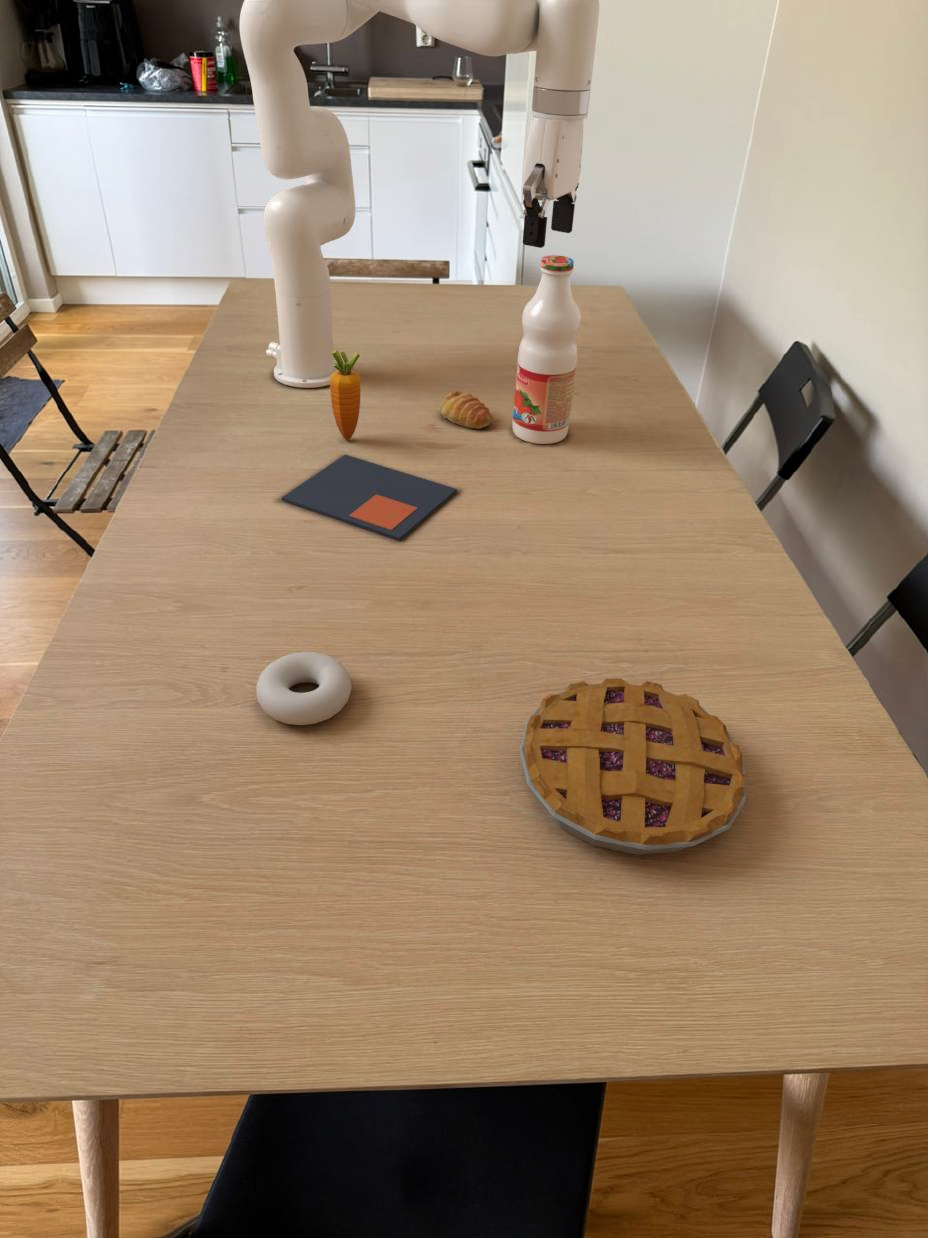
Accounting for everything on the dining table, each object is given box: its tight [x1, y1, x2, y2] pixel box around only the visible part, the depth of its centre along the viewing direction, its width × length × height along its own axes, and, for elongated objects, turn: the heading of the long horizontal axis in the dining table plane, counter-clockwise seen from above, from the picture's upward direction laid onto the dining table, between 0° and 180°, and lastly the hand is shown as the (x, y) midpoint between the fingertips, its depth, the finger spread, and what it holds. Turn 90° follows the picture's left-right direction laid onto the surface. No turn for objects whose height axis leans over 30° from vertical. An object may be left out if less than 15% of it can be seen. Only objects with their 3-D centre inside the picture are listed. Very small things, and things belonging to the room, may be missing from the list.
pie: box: [519, 678, 747, 856], centre depth 86 cm, size 22×22×5 cm
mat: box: [280, 454, 458, 542], centre depth 130 cm, size 20×16×1 cm
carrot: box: [329, 349, 361, 442], centre depth 139 cm, size 5×5×15 cm
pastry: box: [439, 390, 493, 430], centre depth 151 cm, size 9×7×4 cm
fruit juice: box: [511, 254, 582, 445], centre depth 140 cm, size 9×9×28 cm
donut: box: [255, 651, 353, 726], centre depth 94 cm, size 10×4×10 cm
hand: (547, 238), depth 129 cm, fingers open, 9 cm apart
